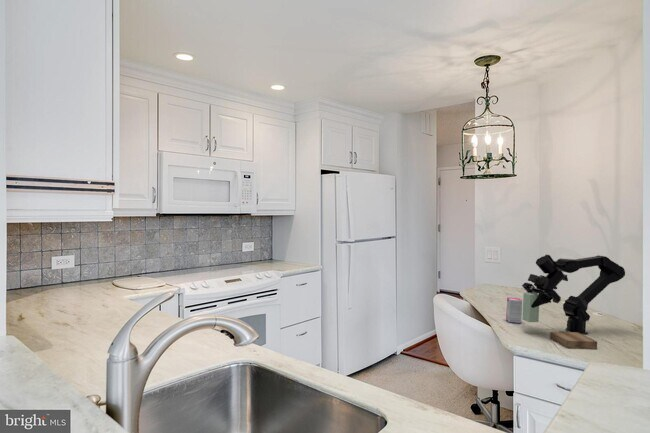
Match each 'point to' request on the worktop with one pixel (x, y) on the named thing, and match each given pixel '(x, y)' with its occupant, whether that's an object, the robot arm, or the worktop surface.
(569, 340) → the walnut base
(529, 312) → the sage block
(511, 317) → the supplement box
